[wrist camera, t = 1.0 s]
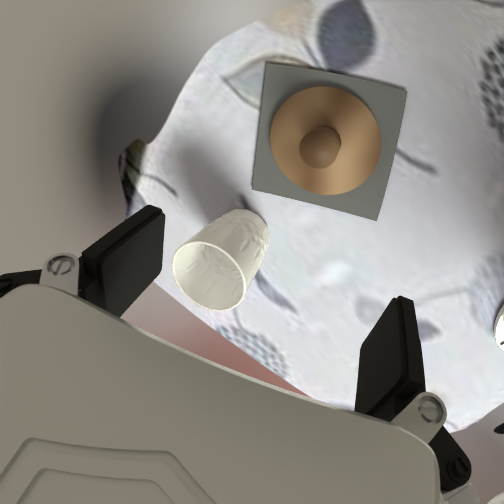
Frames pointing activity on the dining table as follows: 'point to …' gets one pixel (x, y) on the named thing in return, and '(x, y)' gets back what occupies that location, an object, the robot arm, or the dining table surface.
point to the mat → (370, 93)
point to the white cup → (222, 260)
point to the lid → (325, 140)
